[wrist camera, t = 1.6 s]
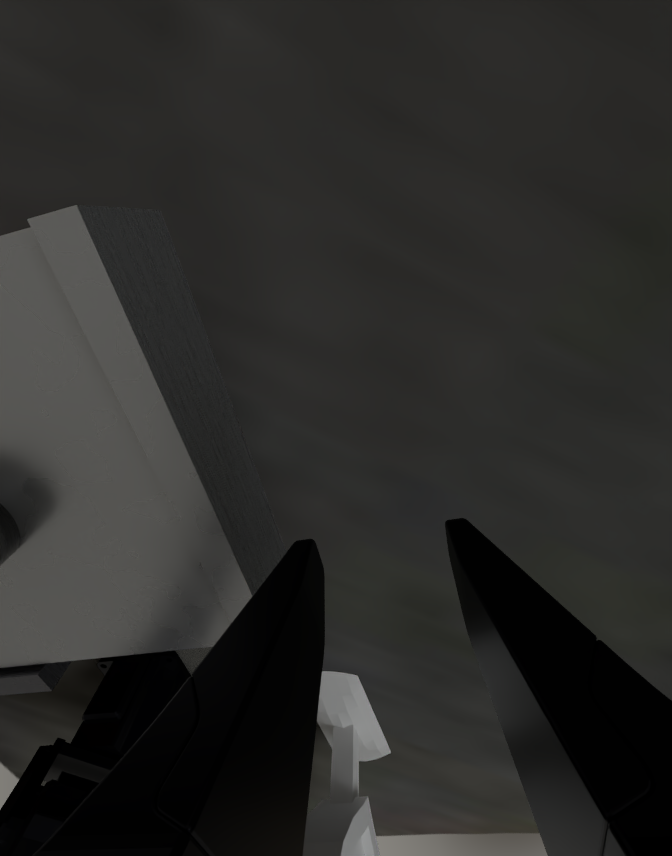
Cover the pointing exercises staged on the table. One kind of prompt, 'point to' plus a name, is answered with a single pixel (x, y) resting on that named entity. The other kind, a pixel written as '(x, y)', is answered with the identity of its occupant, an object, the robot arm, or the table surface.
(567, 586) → the table surface
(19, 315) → the lid
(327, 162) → the table surface
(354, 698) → the heart sculpture
